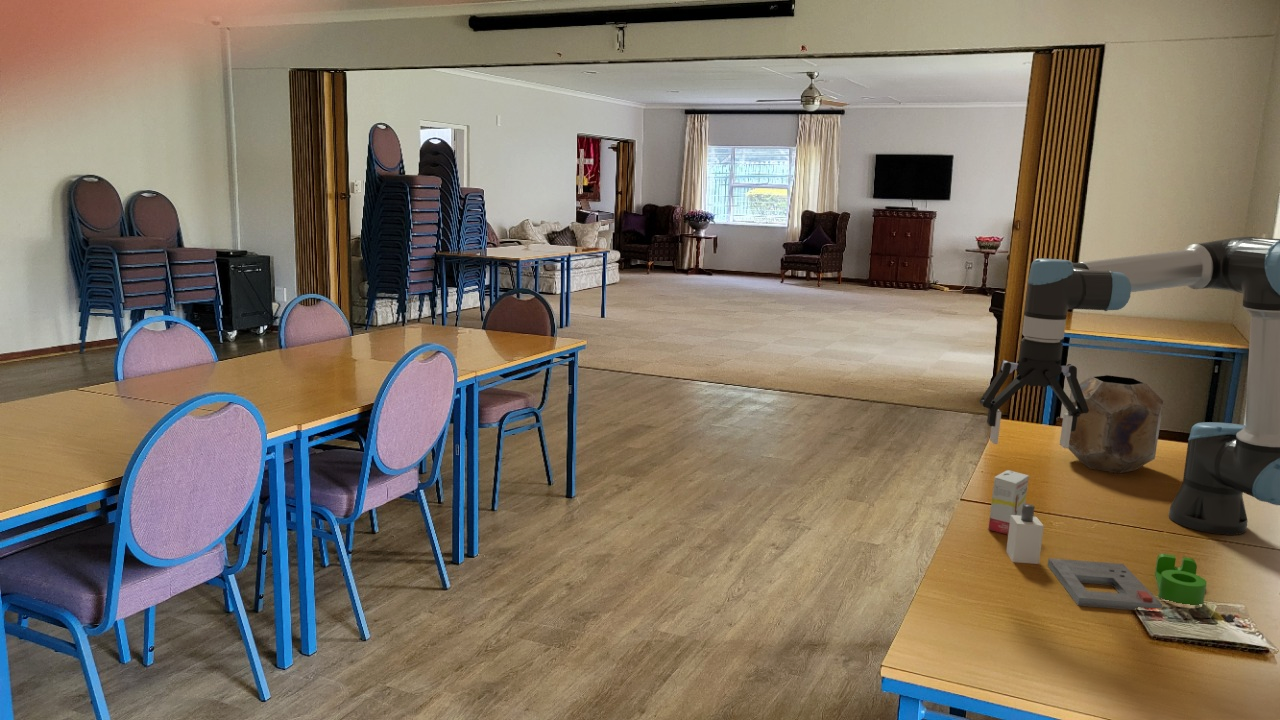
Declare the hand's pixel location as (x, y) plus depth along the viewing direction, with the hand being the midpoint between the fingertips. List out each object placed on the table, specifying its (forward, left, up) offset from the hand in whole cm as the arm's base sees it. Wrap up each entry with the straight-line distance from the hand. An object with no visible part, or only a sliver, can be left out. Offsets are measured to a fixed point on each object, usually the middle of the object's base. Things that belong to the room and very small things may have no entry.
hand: (1028, 444), depth 186 cm
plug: (-1, +2, -23) cm, 23 cm away
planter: (-42, -70, -23) cm, 84 cm away
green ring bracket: (-26, +13, -23) cm, 37 cm away
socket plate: (-12, +14, -23) cm, 29 cm away
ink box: (-2, -15, -23) cm, 27 cm away
